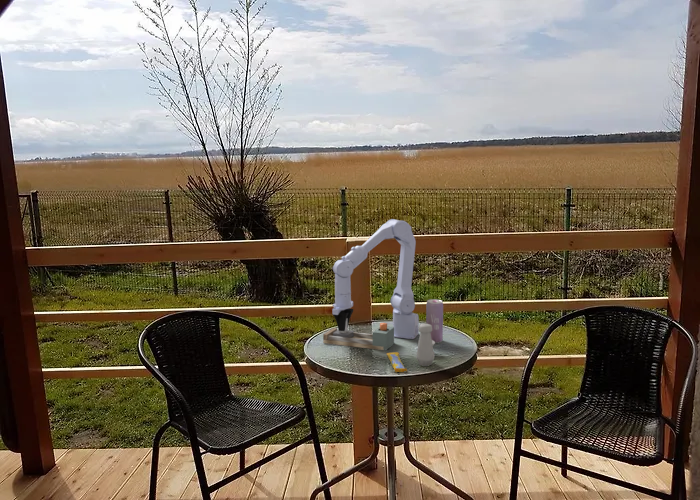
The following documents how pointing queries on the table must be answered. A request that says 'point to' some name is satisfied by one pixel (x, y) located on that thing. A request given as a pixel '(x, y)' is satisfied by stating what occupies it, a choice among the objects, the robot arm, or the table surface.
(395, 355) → the candy bar
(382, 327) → the button
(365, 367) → the table surface
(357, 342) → the rail track
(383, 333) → the end cabinet
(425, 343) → the salt shaker
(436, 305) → the beverage can
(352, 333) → the carriage
